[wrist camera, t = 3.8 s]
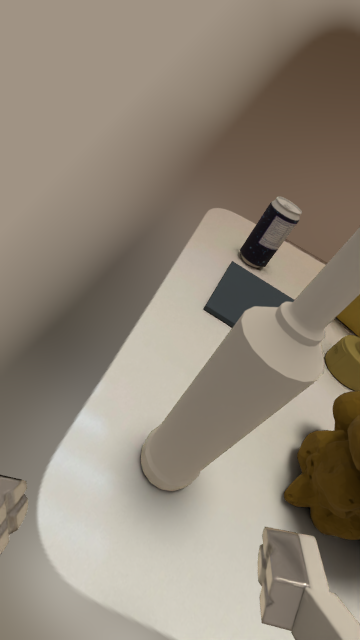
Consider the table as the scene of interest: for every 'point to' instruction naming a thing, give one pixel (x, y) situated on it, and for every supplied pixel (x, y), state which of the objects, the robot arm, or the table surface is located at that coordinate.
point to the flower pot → (352, 316)
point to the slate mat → (242, 295)
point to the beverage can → (270, 232)
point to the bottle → (251, 375)
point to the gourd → (332, 472)
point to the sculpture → (345, 361)
